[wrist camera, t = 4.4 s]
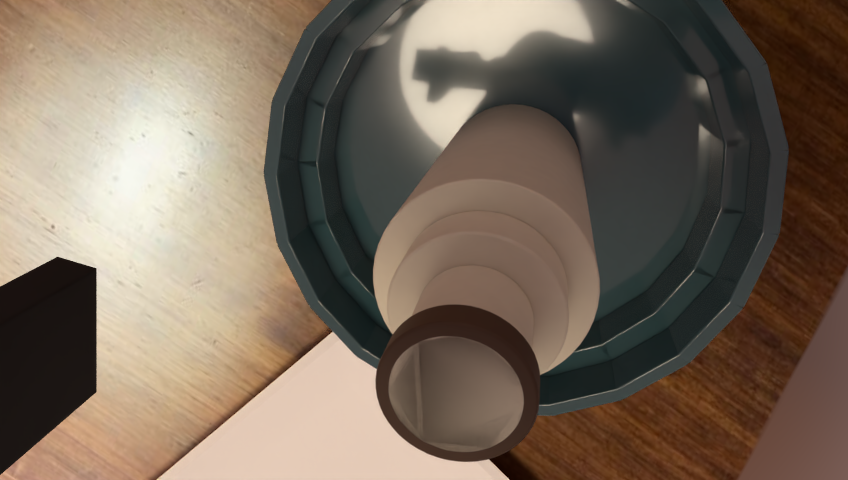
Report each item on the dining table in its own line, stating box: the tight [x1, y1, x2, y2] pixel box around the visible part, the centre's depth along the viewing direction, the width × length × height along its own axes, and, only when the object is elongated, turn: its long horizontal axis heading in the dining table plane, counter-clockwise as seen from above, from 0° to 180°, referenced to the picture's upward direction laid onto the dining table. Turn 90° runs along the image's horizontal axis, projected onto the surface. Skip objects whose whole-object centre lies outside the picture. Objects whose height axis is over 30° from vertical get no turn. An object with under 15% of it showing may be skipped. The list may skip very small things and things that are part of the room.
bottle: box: [373, 104, 600, 462], centre depth 19 cm, size 6×6×17 cm
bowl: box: [264, 0, 789, 416], centre depth 25 cm, size 19×19×5 cm
